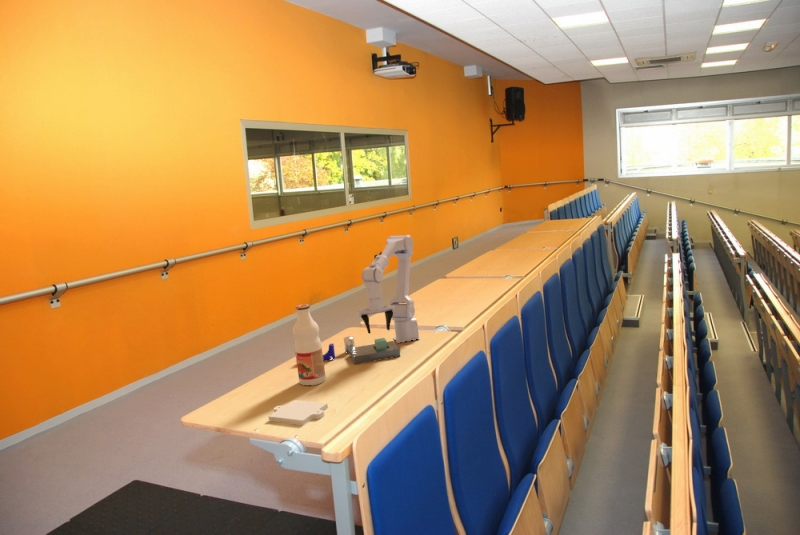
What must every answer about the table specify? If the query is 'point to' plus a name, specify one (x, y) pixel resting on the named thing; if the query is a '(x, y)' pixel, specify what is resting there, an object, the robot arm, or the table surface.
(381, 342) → the square peg
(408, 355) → the table surface
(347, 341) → the round peg
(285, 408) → the mounting plate
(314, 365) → the fruit juice
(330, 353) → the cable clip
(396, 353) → the bore block
